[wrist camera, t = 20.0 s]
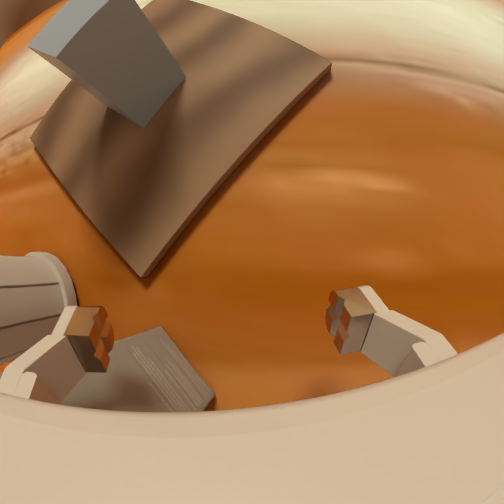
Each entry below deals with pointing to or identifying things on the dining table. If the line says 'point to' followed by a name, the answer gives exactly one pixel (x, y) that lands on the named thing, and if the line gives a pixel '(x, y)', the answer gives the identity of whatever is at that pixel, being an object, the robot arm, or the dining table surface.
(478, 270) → the dining table surface
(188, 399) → the skincare box
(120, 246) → the walnut base
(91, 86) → the tall grey rectangular prism
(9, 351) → the cup
